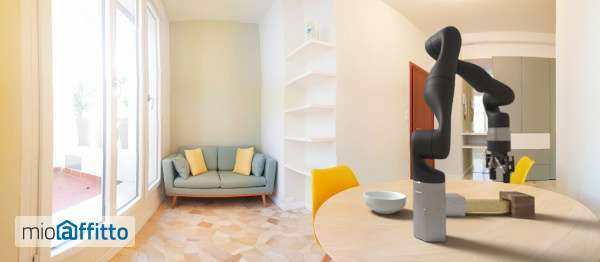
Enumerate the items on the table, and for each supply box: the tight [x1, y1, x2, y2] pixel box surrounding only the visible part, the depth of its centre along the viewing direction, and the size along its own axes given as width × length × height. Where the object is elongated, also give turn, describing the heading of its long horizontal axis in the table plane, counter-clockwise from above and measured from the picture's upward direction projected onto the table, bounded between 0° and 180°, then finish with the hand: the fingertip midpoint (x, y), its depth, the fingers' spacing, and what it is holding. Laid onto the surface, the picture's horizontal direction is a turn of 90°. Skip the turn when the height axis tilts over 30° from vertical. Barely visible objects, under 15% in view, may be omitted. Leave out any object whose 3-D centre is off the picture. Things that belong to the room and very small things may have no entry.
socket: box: [498, 190, 536, 219], centre depth 108 cm, size 9×7×8 cm
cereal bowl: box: [363, 190, 407, 215], centre depth 114 cm, size 17×17×7 cm
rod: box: [465, 198, 512, 214], centre depth 109 cm, size 4×24×4 cm, turn 85°
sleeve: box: [445, 192, 467, 218], centre depth 110 cm, size 7×15×7 cm, turn 85°
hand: (499, 181), depth 108 cm, fingers open, 8 cm apart
